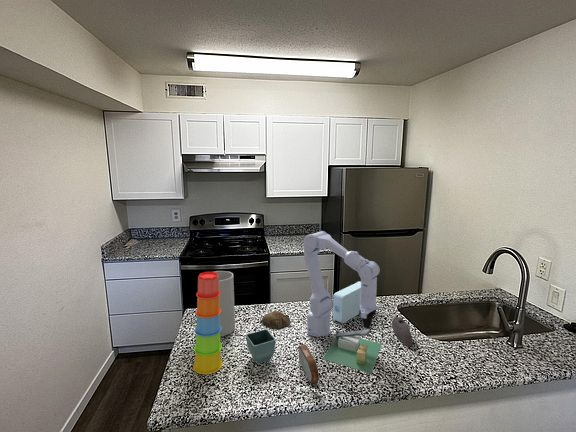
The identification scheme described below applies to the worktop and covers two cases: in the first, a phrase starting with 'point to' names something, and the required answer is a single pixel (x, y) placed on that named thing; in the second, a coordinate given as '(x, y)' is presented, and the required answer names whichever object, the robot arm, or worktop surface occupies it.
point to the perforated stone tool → (402, 331)
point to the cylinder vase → (226, 302)
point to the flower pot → (261, 345)
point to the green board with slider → (352, 352)
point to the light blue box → (347, 303)
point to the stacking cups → (208, 325)
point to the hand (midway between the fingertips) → (367, 327)
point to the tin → (308, 364)
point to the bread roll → (276, 320)
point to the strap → (353, 333)
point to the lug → (362, 355)
